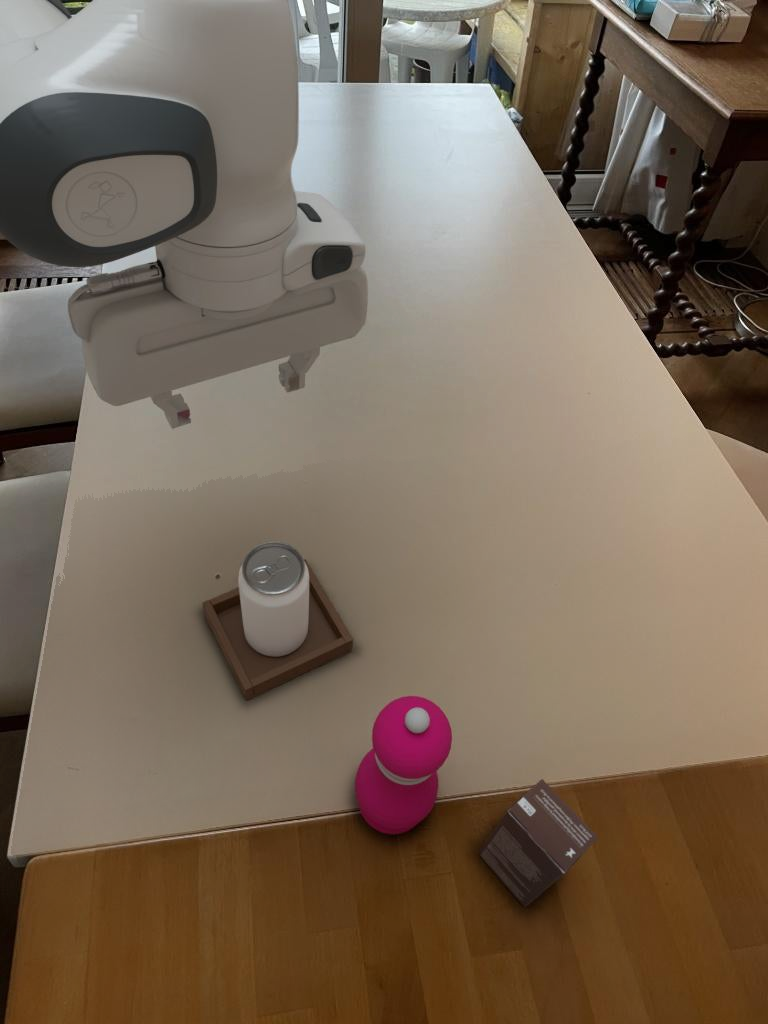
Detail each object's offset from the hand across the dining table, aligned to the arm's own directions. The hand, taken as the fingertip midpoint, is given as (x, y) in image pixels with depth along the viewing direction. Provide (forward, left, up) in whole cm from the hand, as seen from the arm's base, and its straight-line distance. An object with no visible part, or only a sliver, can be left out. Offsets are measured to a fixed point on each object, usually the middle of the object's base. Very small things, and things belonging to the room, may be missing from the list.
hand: (236, 402), depth 61 cm
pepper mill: (+2, -26, -28) cm, 38 cm away
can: (0, -6, -28) cm, 28 cm away
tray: (0, -6, -28) cm, 29 cm away
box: (+9, -36, -28) cm, 47 cm away
